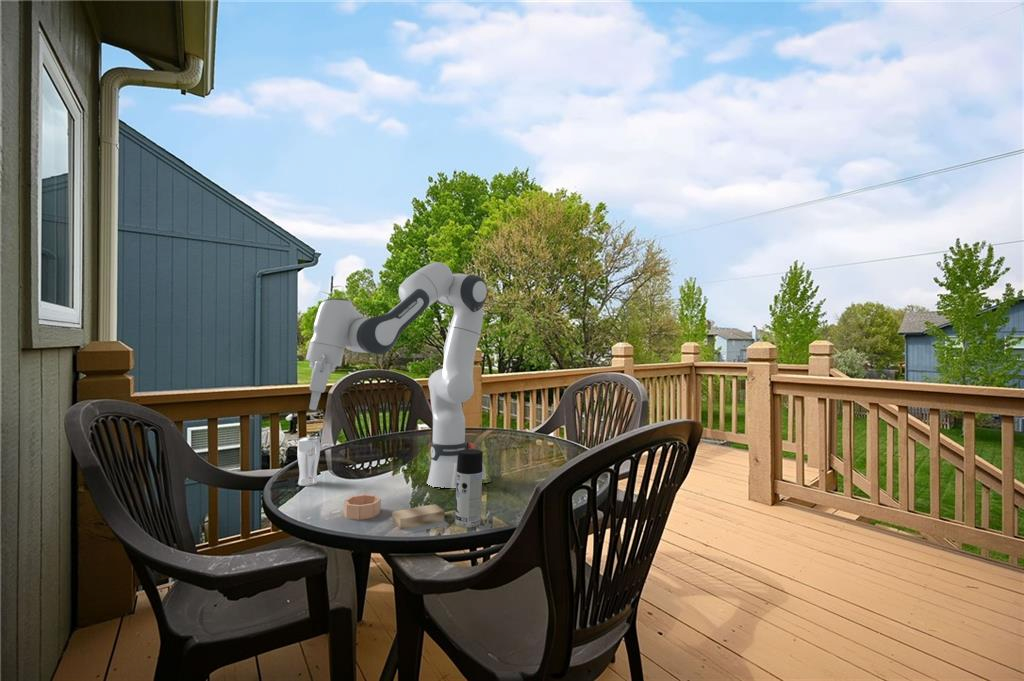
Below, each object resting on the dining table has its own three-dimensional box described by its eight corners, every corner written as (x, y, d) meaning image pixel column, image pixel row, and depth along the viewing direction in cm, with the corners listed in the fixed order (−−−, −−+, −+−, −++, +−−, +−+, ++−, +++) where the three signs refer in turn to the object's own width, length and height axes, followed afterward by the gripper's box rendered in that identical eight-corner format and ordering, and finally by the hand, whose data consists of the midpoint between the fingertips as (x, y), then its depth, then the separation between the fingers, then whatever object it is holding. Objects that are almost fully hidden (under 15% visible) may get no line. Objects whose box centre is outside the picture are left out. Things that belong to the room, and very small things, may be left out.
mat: (430, 515, 131) (430, 510, 131) (449, 530, 121) (449, 524, 121) (388, 523, 125) (388, 517, 125) (404, 540, 115) (404, 533, 115)
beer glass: (322, 480, 161) (324, 437, 161) (312, 487, 154) (313, 441, 154) (303, 479, 162) (304, 436, 162) (292, 486, 155) (293, 440, 155)
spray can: (455, 523, 126) (457, 448, 126) (480, 522, 127) (482, 448, 127) (454, 533, 120) (456, 454, 120) (481, 533, 120) (483, 454, 120)
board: (435, 513, 129) (435, 503, 129) (444, 520, 124) (444, 510, 124) (392, 521, 122) (392, 511, 122) (400, 529, 117) (400, 519, 117)
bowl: (373, 510, 134) (374, 492, 134) (383, 520, 127) (383, 502, 127) (340, 516, 129) (341, 497, 129) (349, 527, 122) (349, 507, 122)
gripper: (338, 356, 116) (326, 412, 113) (335, 361, 135) (324, 410, 132) (311, 351, 114) (298, 408, 111) (312, 357, 132) (300, 406, 130)
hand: (312, 409), depth 122 cm, fingers open, 8 cm apart
